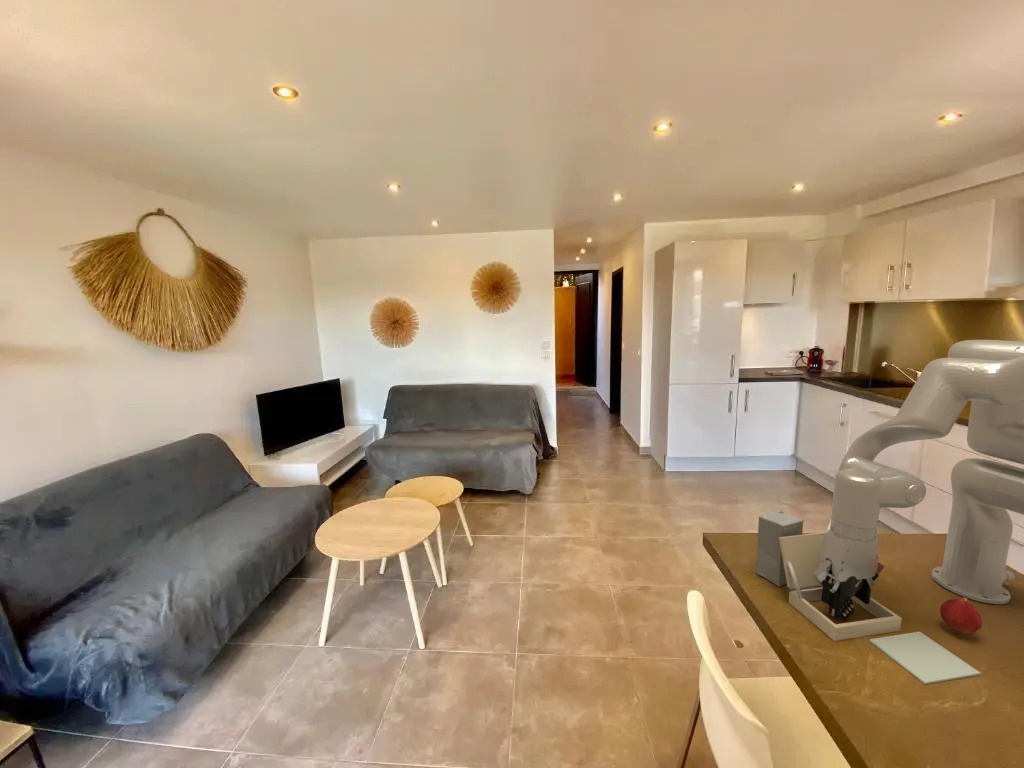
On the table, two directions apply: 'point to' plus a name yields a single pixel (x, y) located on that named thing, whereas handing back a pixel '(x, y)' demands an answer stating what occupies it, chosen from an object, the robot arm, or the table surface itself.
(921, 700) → the table surface
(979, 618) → the red fruit
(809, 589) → the case
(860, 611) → the table surface
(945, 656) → the mat
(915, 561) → the table surface
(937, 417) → the robot arm
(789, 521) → the skincare box
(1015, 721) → the table surface
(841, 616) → the battery charger
